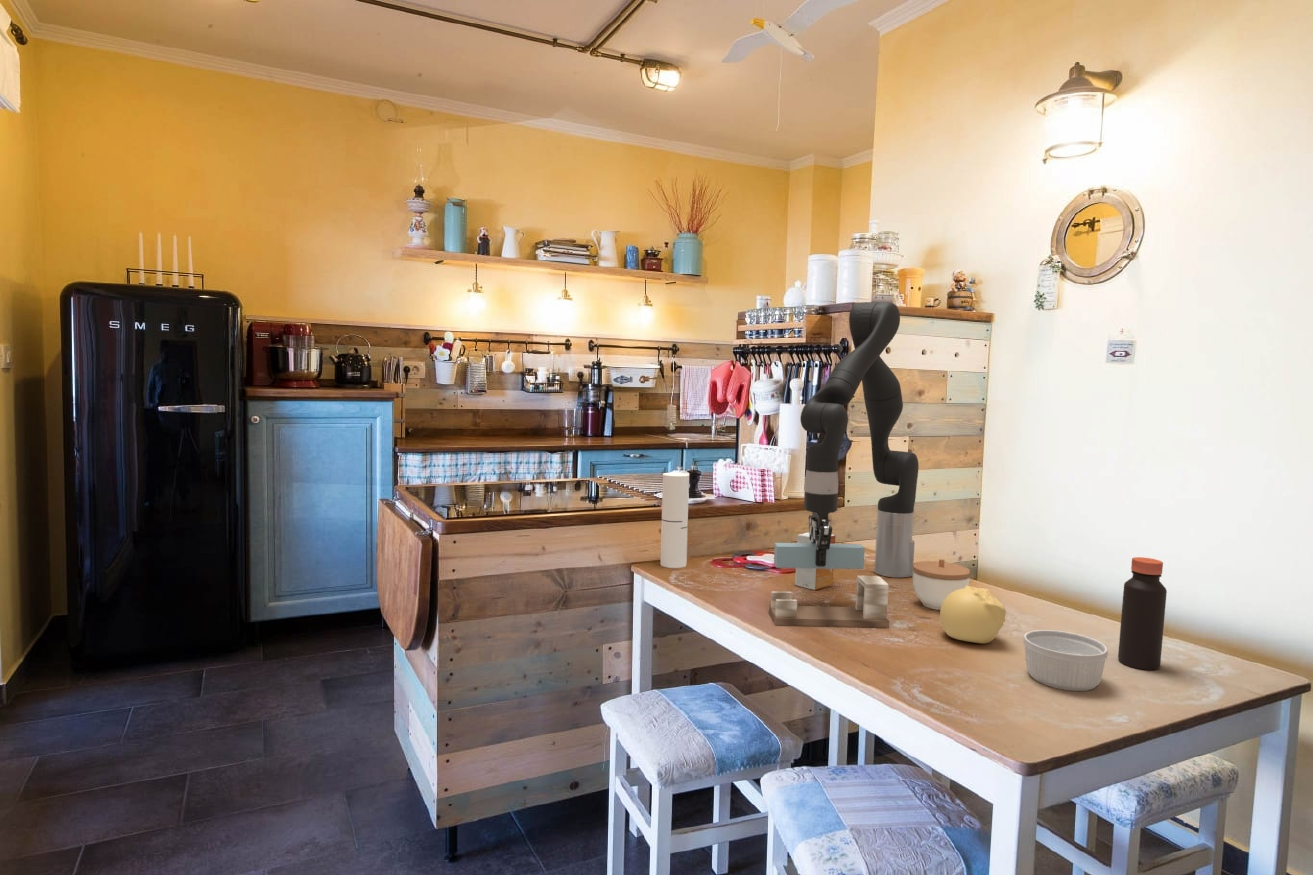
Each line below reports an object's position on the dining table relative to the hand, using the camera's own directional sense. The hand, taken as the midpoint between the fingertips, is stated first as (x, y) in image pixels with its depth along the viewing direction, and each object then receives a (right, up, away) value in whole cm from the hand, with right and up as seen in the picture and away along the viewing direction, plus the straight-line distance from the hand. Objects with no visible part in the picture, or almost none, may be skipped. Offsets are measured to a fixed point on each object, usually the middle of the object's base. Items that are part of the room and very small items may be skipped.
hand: (818, 563), depth 176 cm
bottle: (+54, -14, -31) cm, 64 cm away
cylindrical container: (-33, -6, +33) cm, 47 cm away
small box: (+2, -9, +17) cm, 19 cm away
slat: (0, -1, 0) cm, 1 cm away
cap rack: (0, -11, -10) cm, 15 cm away
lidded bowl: (+29, -11, +2) cm, 31 cm away
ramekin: (+35, -14, -40) cm, 55 cm away
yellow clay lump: (+27, -12, -20) cm, 36 cm away
